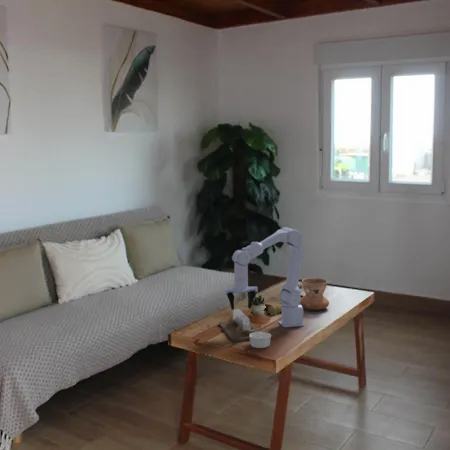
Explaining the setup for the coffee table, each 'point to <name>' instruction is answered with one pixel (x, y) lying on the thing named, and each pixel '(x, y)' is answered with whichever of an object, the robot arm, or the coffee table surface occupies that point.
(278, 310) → the gavel
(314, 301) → the clay incense burner
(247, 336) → the board
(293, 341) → the coffee table surface
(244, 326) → the steel bar
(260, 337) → the ramekin
